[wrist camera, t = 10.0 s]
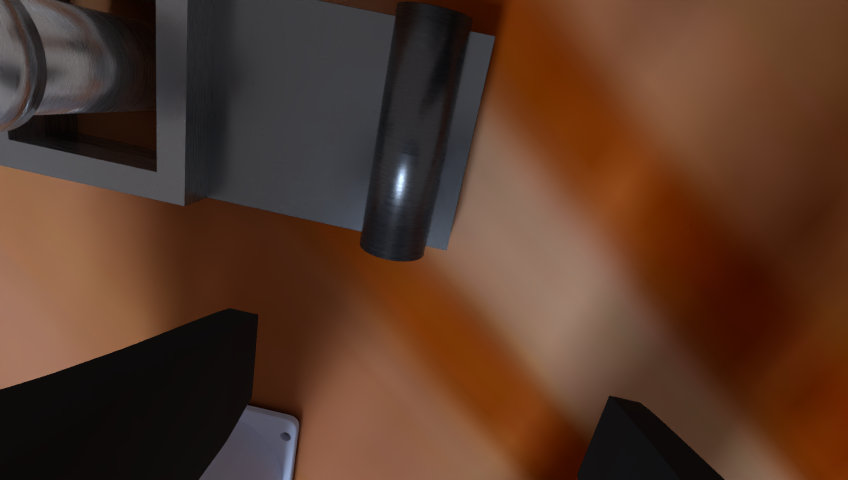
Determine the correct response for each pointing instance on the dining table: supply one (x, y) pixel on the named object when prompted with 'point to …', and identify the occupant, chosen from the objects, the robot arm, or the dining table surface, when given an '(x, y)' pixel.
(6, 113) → the steel pin
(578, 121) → the dining table surface
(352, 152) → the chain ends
